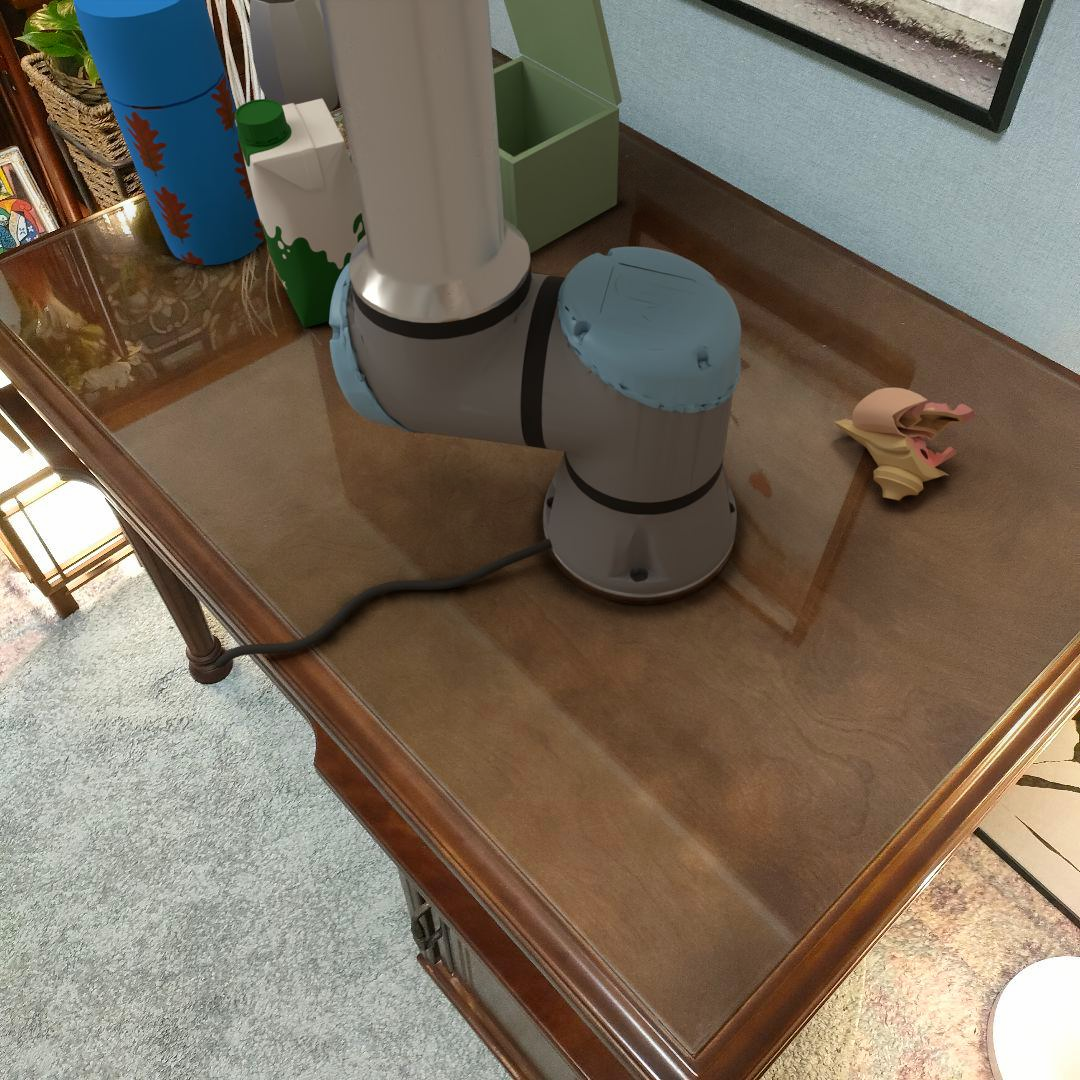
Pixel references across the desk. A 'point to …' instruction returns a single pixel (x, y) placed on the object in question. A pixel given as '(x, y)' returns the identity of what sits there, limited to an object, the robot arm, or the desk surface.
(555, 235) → the chest
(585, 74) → the lid
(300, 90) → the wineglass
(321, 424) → the desk surface
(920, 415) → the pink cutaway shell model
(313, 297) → the milk carton
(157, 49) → the thermos
